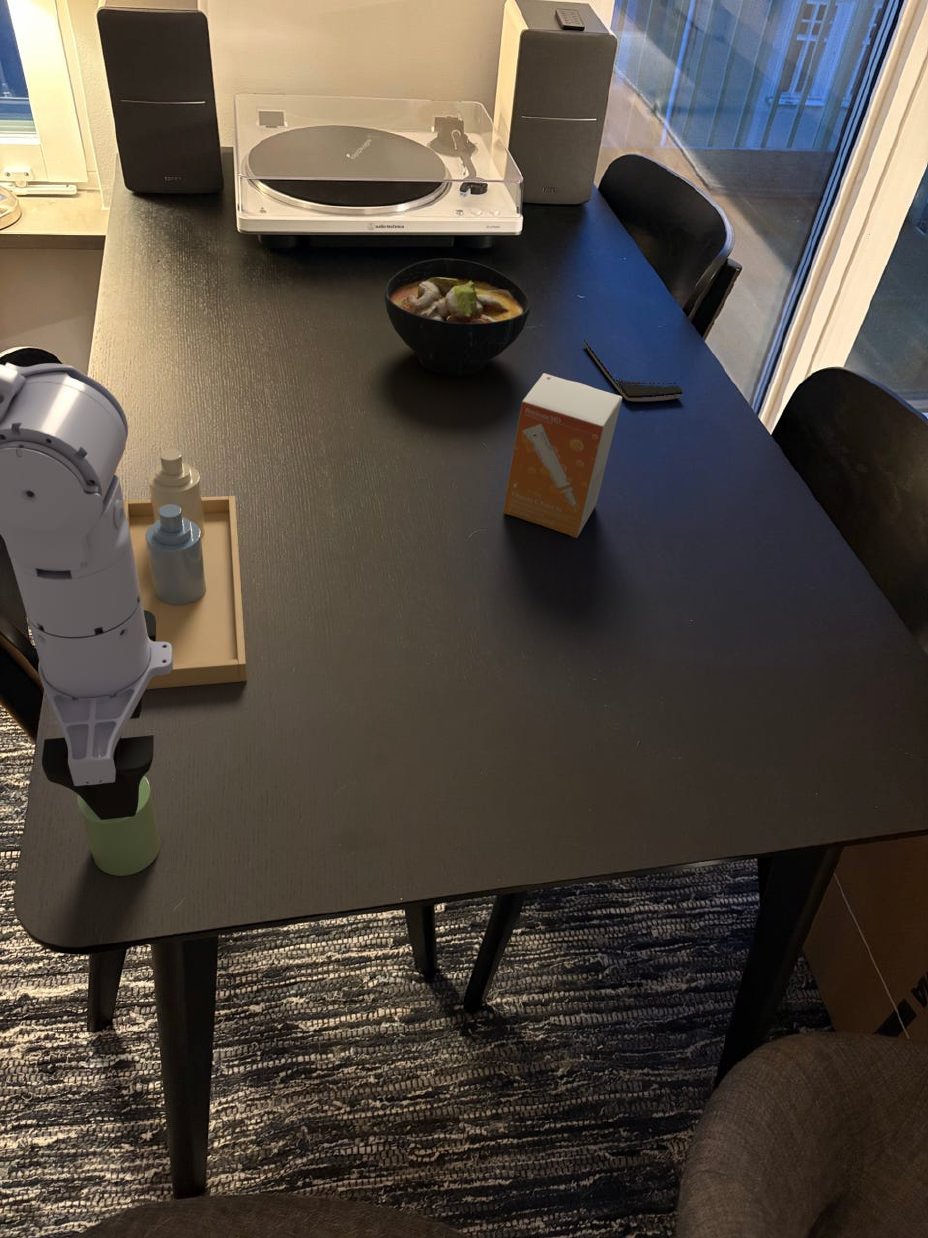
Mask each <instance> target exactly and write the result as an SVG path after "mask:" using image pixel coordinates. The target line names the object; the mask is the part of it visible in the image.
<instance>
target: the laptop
mask: <svg viewBox="0 0 928 1238" xmlns="http://www.w3.org/2000/svg"><path fill="white" fill-rule="evenodd" d="M583 344H584V346H585V347H586V349H587V351H588V352H589V354H590V355H591V357H592V358H593V359H594V361H595V362H596V364H597V365H598V366H599V367H600V369H601V370H602V372H603V373H604V375H605V377H607V379H608V380H609V381H610V383H612V385H613V386H614V387H615V388H616V390H617V391H618V392H619V394H620V395H621V396H622V398H623V397H624V399H625V400H626V401H629V402H659V401H668V400H675V399H680V398H682V397H683V395H684V392H683V390H682V389H681V387H680V386H679V385H678V386H675V385H674V386H675V387H674V386H671V385H670V386H671V387H670V386H669V387H668V386H667V387H664V386H663V387H664V388H662V386H661V387H660V386H656V387H655V385H653V386H654V387H653V386H650V385H649V386H646V385H643V386H642V385H639V384H643V383H644V382H643V383H640V382H638V383H637V382H636V383H635V382H632V383H631V382H628V381H627V383H626V381H625V382H623V380H621V381H618V380H616V381H617V382H618V384H619V386H620V387H621V388H620V387H619V386H618V384H617V383H616V382H615V380H614V379H613V378H612V376H611V375H610V374H609V372H608V371H607V370H606V368H605V367H604V366H603V364H602V363H601V362H600V360H599V359H598V358H597V356H596V355H595V354H594V352H593V351H592V350H591V348H590V347H589V346H588V344H587V343H586V342H585V340H584V339H583ZM619 380H620V379H619ZM652 383H653V382H652ZM627 384H628V385H627ZM630 384H631V385H630ZM632 384H633V385H632ZM634 384H635V385H634ZM637 384H638V385H637ZM644 384H647V383H644ZM649 384H651V383H649ZM653 384H655V383H653ZM658 384H660V383H658ZM663 384H664V383H663ZM667 384H668V383H667ZM669 384H672V383H669ZM673 384H677V383H676V382H675V383H673ZM651 385H652V384H651ZM645 386H646V387H645ZM621 389H622V390H621ZM624 393H625V394H624ZM682 393H683V395H676V394H682ZM674 394H675V396H667V395H674ZM664 395H666V397H656V396H664ZM653 396H654V397H653ZM643 397H653V398H643Z"/></svg>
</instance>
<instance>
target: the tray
mask: <svg viewBox="0 0 928 1238" xmlns="http://www.w3.org/2000/svg"><path fill="white" fill-rule="evenodd" d="M123 502H124V508H125V513H126V518H127V520H128V524H129V529H130V535H131V541H132V546H133V552H134V558H135V564H136V570H137V575H138V581H139V587H140V594H141V600H142V606H143V610H146V611H149V612H151V613H152V614H154V616H155V619H156V641H155V642H168V643H170V644H171V646H172V650H173V669H172V671H171V672H170V673H168V674H165V675H157V676H154V677H153V678H151V680H150V681H149V683H148V685H147V687H146V689H145V690H151V689H152V690H154V689H155V690H156V689H164V688H165V689H167V688H177V687H179V688H180V687H190V686H191V687H192V686H203V685H217V684H228V683H238V682H239V683H241V682H247V681H248V673H247V672H248V669H247V660H246V659H247V657H246V641H245V625H244V612H243V611H244V609H243V593H242V580H241V579H242V578H241V562H240V549H239V547H240V546H239V533H238V519H237V518H238V516H237V504H236V502H237V501H236V496H235V495H222V496H221V495H219V496H202V504H203V513H204V523H205V533H204V535H203V536H202V538H201V539H202V548H203V557H204V566H205V575H206V584H207V588H206V591H205V593H204V595H203V596H202V597H201V598H200V599H198V600H197V601H195V602H193V603H190V604H186V605H170V604H166V603H164V602H162V601H160V600H159V599H158V598H157V597H156V595H155V593H154V589H153V582H152V576H151V570H150V564H149V557H148V551H147V545H146V539H145V535H146V532H147V530H148V528H149V527H150V526H151V525H153V524H154V518H153V512H152V505H151V498H148V499H145V498H144V499H129V500H128V499H126V500H125V499H123Z"/></svg>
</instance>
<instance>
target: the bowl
mask: <svg viewBox="0 0 928 1238" xmlns="http://www.w3.org/2000/svg"><path fill="white" fill-rule="evenodd" d="M384 303H385V308H386V309H385V310H386V312H387V315H388V318H389V320H390V322H391V325H392V327H393V329H394V330H395V332H396V333H397V335H398V336H399V337H400V339H401V340H402V341H403V342H404V344H405V345H406V346H407V347H408V348H410V349H411V350H412V351H413V352H414V353H415V356H416V358H417V359H418V361H419V363H420V364H421V365H422V366H423V367H424V368H425V369H427V370H429V371H431V372H433V373H436V374H439V375H444V376H453V377H463V376H464V377H466V376H470V375H475V374H476V373H479V372H481V371H482V370H483V369H484V368H485V367H486V366H487V364H488V363H489V362H490V361H491V360H493V359H495V358H496V357H497V356H499V355H501V354H502V353H503V352H504V351H505V350H506V349H507V348H509V347H510V346H511V345H513V343H514V342H516V339H518V337H519V336H520V334H521V333H522V331H523V330H524V327H525V324H526V323H527V320H528V317H529V314H530V309H531V300H530V298H529V296H528V295H527V293H526V292H525V290H524V289H523V288H522V287H520V285H518V284H517V283H516V282H514V280H512V279H510V278H509V277H507V275H505V274H504V273H502V272H501V271H498V270H496V269H494V268H492V267H491V266H488V265H485V264H482V263H480V262H476V261H471V260H465V259H459V258H433V259H427V260H423V261H419V262H417V263H416V262H415V263H413V264H410V265H408V266H406V267H405V268H403V269H401V270H399V271H398V272H396V273H395V274H394V275H393V276H391V278H390V279H389V280H388V281H387V284H386V285H385V289H384Z"/></svg>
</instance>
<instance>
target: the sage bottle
mask: <svg viewBox="0 0 928 1238" xmlns="http://www.w3.org/2000/svg"><path fill="white" fill-rule="evenodd" d="M76 803H77V808H78V811H79V814H80V818H81V821H82V825H83V828H84V832H85V836H86V839H87V842H88V845H89V849H90V852H91V856H92V859H93V861H94V863H95V865H96V866H97V868H98V869H100V870H101V871H103V872H104V873H106V874H109V875H111V876H117V877H118V876H120V877H124V876H132V875H135V874H137V873H139V872H141V871H143V870H145V869H146V868H148V867H150V865H151V864H152V863H153V862H154V861H155V860H156V859H157V857H158V855H159V853H160V850H161V847H162V840H161V834H160V829H159V825H158V824H159V823H158V820H157V819H158V818H157V814H156V810H155V805H154V804H155V803H154V799H153V795H152V790H151V785H150V782H149V780H148V779H147V777H146V776H145V775H144V776H143V778H142V780H141V782H140V785H139V801H138V808H137V812H136V815H135V816H133V817H125V818H116V819H107V820H101V819H100V818H99V817H98V816H97V815H96V814H95V813H94V812H93V811H92V809H91V808H90V807H89V806H88V805H87V803H86V802H85V801H84V800H83V799H82V798H81V797H80V796H79V795H78V794H77V797H76Z"/></svg>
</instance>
